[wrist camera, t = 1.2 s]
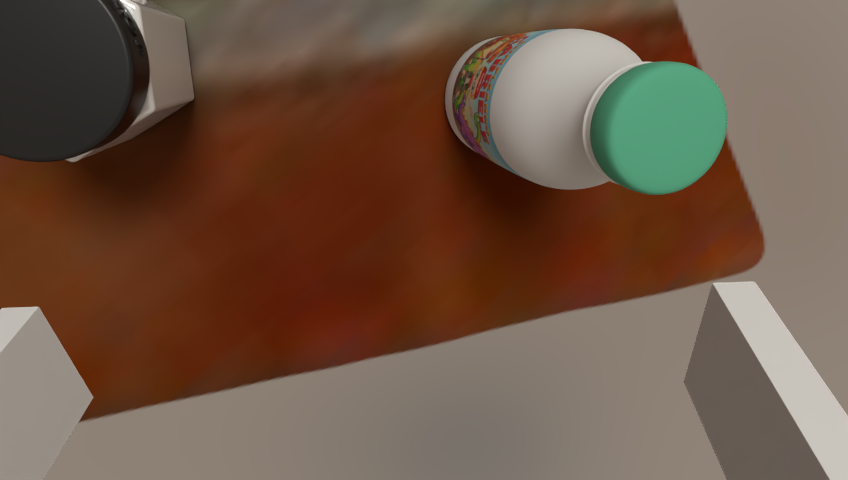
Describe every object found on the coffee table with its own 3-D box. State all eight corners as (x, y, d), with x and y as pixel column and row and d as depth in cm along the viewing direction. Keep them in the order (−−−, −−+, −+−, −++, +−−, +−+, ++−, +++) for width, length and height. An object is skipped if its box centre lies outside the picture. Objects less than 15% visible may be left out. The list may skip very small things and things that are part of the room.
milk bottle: (561, 42, 38) (798, 23, 19) (545, 158, 40) (744, 242, 22) (448, 31, 37) (584, -1, 18) (437, 152, 39) (549, 237, 20)
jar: (222, 36, 35) (177, 24, 23) (168, 156, 36) (100, 200, 25) (67, -49, 32) (-68, -108, 21) (15, 85, 34) (-138, 97, 22)
